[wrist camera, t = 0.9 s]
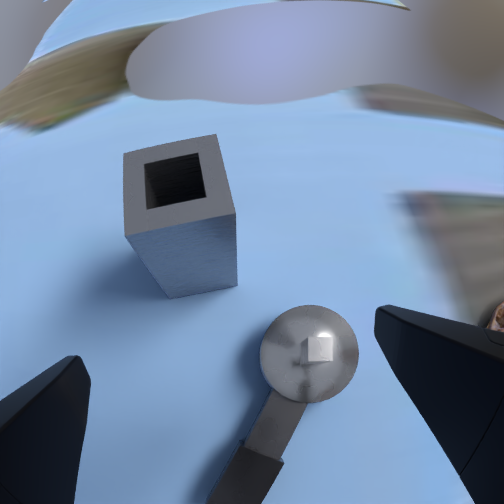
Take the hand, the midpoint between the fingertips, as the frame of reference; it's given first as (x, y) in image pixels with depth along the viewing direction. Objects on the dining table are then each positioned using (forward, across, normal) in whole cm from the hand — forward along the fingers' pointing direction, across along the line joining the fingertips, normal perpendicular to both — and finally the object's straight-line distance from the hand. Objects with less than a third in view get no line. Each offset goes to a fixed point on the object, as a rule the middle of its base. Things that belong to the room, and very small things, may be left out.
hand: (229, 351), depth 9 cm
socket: (+15, +1, +2) cm, 16 cm away
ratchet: (+7, -2, +11) cm, 14 cm away
